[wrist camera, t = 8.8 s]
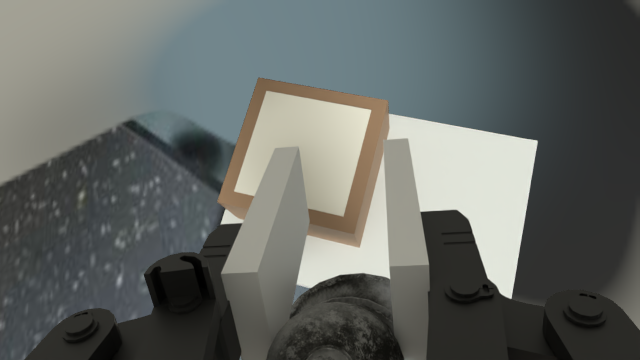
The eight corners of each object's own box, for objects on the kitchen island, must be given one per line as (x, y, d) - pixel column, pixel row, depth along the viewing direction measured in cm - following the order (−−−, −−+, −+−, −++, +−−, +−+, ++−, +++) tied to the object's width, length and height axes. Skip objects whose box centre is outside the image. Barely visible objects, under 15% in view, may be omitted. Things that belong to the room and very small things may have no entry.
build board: (532, 148, 33) (556, 112, 28) (500, 338, 30) (520, 337, 25) (268, 98, 37) (247, 59, 32) (215, 263, 34) (183, 248, 29)
